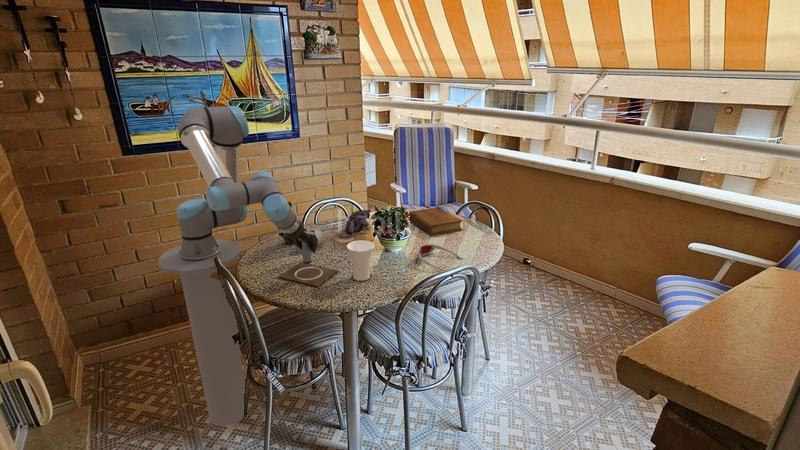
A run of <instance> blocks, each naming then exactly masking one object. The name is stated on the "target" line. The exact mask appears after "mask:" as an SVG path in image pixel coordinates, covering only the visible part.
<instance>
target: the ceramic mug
mask: <svg viewBox="0 0 800 450" xmlns="http://www.w3.org/2000/svg"><path fill="white" fill-rule="evenodd" d="M313 230H314V231H315V235H316V237H317V239H318V243H317V246H316V248H318V247H319V246H320V245H321V244H322V243H323V242H324V237H325V236H324V233H323V232H322V231H321V230H320V229H317V228H316V229H313Z"/></svg>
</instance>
